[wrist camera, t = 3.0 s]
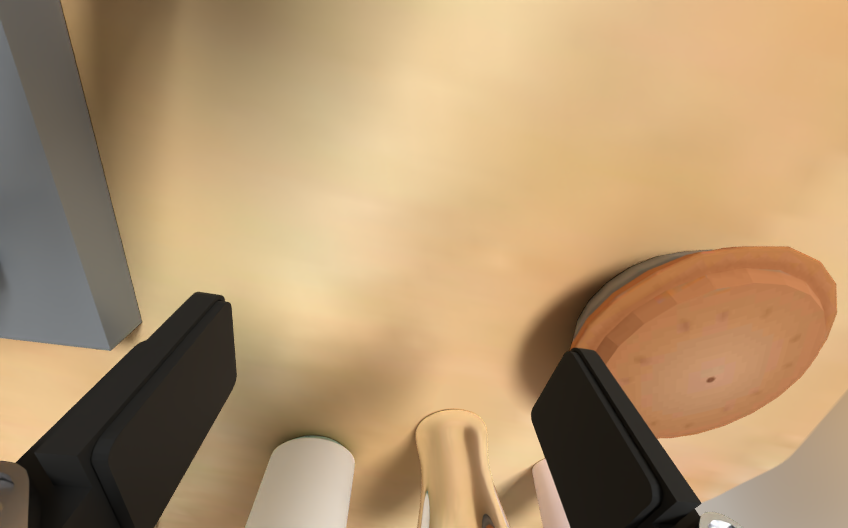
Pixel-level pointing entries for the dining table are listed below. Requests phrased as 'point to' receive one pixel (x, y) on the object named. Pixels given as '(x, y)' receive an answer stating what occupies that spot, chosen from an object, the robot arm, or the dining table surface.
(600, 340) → the pie
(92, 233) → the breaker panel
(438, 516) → the beer glass
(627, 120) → the dining table surface
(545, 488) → the smoothie
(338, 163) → the dining table surface
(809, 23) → the dining table surface
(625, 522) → the robot arm
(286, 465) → the can
